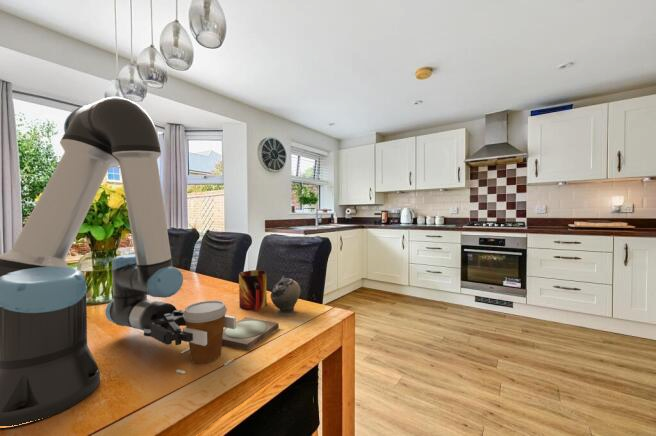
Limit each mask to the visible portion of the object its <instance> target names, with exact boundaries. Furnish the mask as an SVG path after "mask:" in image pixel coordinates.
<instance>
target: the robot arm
mask: <svg viewBox="0 0 656 436" xmlns="http://www.w3.org/2000/svg"><path fill="white" fill-rule="evenodd" d="M63 129H64V130H63V131H64V134H63V136H62V138H61V140H60V142H59V144H60V146H61V147H62V150H63V151H64V153H63V155H62V156H61V159H60V160H59V162H58V163H57V165H56V167H55V169H54V171H53V173H52V174H51V176H50V178H49V179H48V182H47V184H46V186H45V187H44V189H43V191H42V193H41V195H40V197H39V198H38V200H37V202H36V203H35V206H34V208H33V210H32V211H31V213H30V215H29V216H28V218H27V220H26V222H25V223H24V226H23V228H22V230H21V232H20V233H19V235H18V237H17V238H16V241H15V242H14V244H13V246H12V248H11V249H10V250H8V251H7V252H4V253H0V426H12V425H13V426H14V425H19V424H22V423H26V422H30V421H35V420H38V419H42V418H45V419H47V418H49V417H48V416H50V417H52V416H55V415H57V414H60V413H62V412H64V411H65V410H67V409H69V408H71V407H73V406H75V405H76V404H78V403H80V402H81V401H83V400H85V398H87V397H88V396H90V395H91V394H92V393H93V392H94V391H95V390H96V389H97V388H98V387H99V384H100V382H101V379H100V376H101V375H100V374H101V373H100V368H99V365H98V363H97V362H96V359H95V357H94V356H93V354H92V352H91V350H90V348H89V346H88V319H87V318H88V317H87V315H88V314H87V305H88V304H87V293H88V285H87V283H86V276H85V274H84V273H83V272H82V271H81V270H80V269H76V268H74V267H70V266H69V265H68V263H67V262H66V259H67V257H68V255H69V252H70V251H71V248H72V246H73V244H74V242H75V240H76V237H77V236H78V233H79V231H80V229H81V228H82V225H83V223H84V221H85V219H86V217H87V215H88V213H89V212H90V211H89V210H90V209H91V206H92V204H93V202H94V200H95V198H96V195H97V194H98V192H99V190H100V187H101V185H102V183H103V181H104V179H105V177H106V175H107V173H108V170H109V169H111V168H115V167H116V168H117V167H119V168H120V174H121V180H122V185H123V192H124V198H125V204H126V208H127V215H128V222H129V227H130V228H129V229H130V233H131V239H132V244H133V250H134V253H131V254H129V253H128V254H122V255H117V256H115V257H113V259H112V268H111V275H112V290H113V291H112V292H113V293H112V294H113V296H112V299H111V300H110V302H108V304H107V306H106V308H105V317H106V319H107V320H108V321H109V322H111V323H113V324H115V325H117V326H121V327H127V328H133V329H135V330H140V331H143V336H144V337H148V338H152V339H154V340H156V341H158V342H160V343H162V344H164V345H167V346H168V345H171V344H172V343H173V342H174V343H175V346H180V345H182V342H186V343H189V342H191V343H195V344H199V345H203V346H205V345H207V332H205V331H201V330H196V329H191V328H187V327H186V322H185V320H184V318H183V313H184V312H185V310H181V309H177V308H176V307H175V305H173V304H172V303H169V302H168V303H167V302H163V301H158V300H152V299H148V296H150V297H153V298H162V299H163V298H170V297H172V296H175V295H176V294H177V293H178V292H179V291H180V290H181V288H182V287H183V282H184V276H183V273H182V271H181V270H180V269H178V268H176V267H175V266H174V265H173V260H172V259H173V258H172V254H171V246H170V245H171V244H170V240H169V232H168V225H167V218H166V213H165V206H164V205H165V204H164V198H163V191H162V184H161V177H160V169H159V164H158V159H159V158H160V157H161V156H162V151H161V144H160V139H159V135H158V132H157V129H156V126H155V124H154V122H153V120H152V118H151V116H150V115H149V114H148V113H147V111H146V110H145V109H143V107H141V105H139V104H137V103H136V102H134V101H132V100H129V99H128V98H124V97H119V96H109V97H105V98H102V99H100V100H98V101H94V102H93V103H91V104H88V105H83V106H80V107H78V108H76V109H74V110H73V111H72V112H70V114H69V115H68V116H67V117H66V119H65V121H64V124H63ZM236 322H237V317H236V316H233V315H231V316H230V315H226V314H225V319H224V329H225V328H230V329H235V328H236ZM181 327H183V328H181ZM63 410H64V411H63ZM56 413H57V414H56ZM54 414H55V415H54ZM46 417H47V418H46ZM42 420H43V419H42Z"/></svg>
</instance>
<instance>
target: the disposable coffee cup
mask: <svg viewBox="0 0 656 436" xmlns="http://www.w3.org/2000/svg"><path fill="white" fill-rule="evenodd" d="M184 311H185V312H184V313H183V318H184V320H185V322H186V326H185V327H187V328H191V329H196V330H201V331H205V332H207V345H205V346H203V345H199V344H195V343H191V342H188V346H189V347H188V348H190V350H189V352H190V357H191V362H192V363H193V364H197V365H200V364H201V365H202V364H203V365H204V364H208V363H211V362H215V360H217V359H219V358H220V356H221V353H222V337H223V329H225V327H224V319H225V315H226V314H227V311H228V307H227V306H226V303H225V302H224V301H221V300H204V301H203V300H202V301H200V302H195V303H192V304H189V305H187V306H185V308H184Z"/></svg>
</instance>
